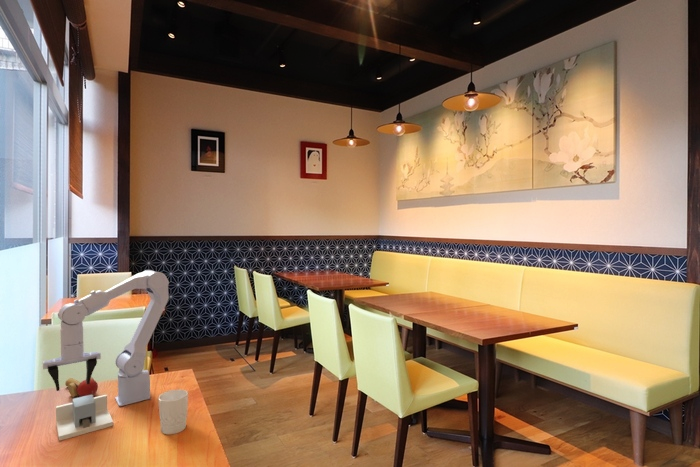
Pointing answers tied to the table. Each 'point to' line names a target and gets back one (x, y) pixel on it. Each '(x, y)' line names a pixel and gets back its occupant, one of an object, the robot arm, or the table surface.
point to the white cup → (173, 411)
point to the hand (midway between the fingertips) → (73, 386)
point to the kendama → (81, 387)
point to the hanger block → (84, 409)
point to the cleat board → (72, 431)
